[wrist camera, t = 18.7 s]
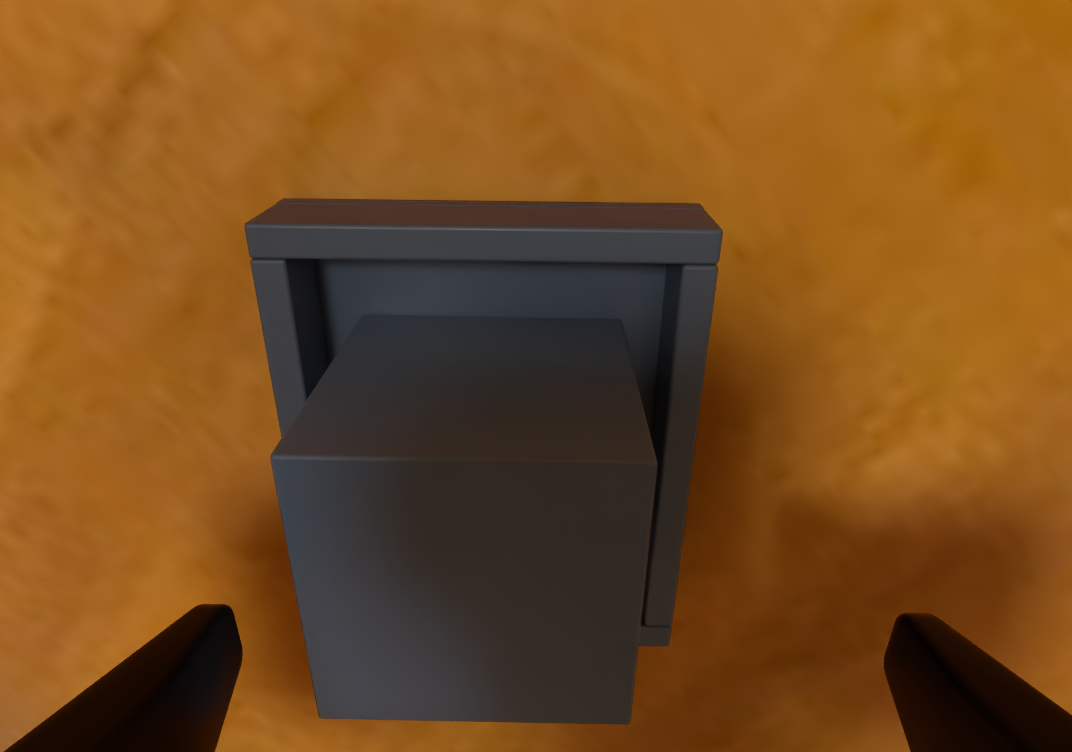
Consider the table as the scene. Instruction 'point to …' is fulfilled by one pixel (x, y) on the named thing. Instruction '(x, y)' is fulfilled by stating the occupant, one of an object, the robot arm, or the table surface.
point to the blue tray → (506, 305)
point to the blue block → (471, 521)
